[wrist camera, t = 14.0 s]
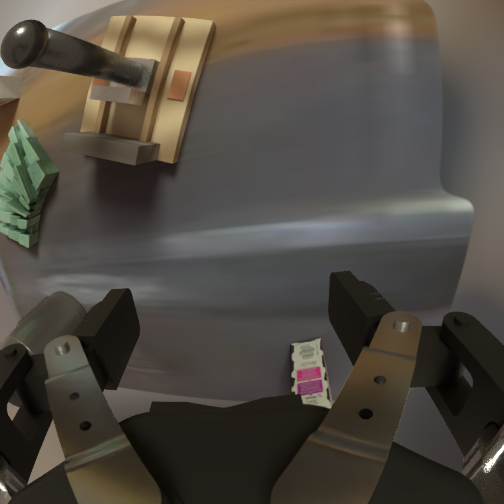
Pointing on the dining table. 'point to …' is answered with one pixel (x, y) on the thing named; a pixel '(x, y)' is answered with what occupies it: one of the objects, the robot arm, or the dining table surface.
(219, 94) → the dining table surface
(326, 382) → the candy bar box
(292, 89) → the dining table surface
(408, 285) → the dining table surface
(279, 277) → the dining table surface
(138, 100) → the handle
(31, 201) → the money
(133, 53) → the press bench
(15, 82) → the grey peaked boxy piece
